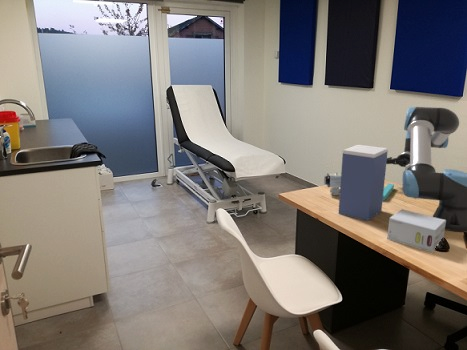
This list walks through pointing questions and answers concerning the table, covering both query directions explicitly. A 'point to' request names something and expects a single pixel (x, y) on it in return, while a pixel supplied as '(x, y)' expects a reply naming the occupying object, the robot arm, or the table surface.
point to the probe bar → (387, 190)
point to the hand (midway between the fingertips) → (392, 166)
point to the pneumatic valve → (333, 183)
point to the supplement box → (416, 230)
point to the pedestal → (362, 181)
